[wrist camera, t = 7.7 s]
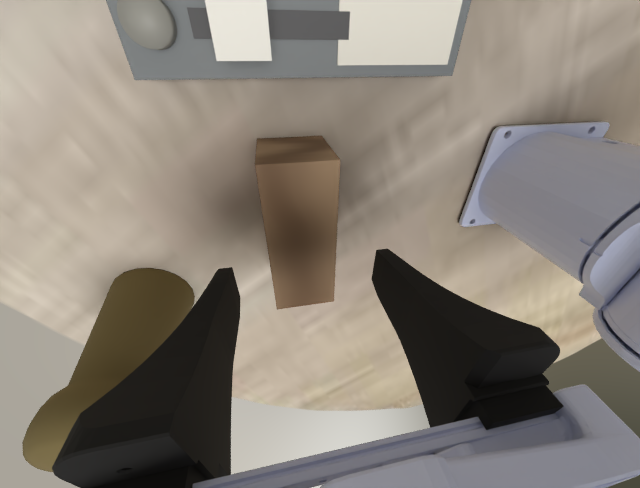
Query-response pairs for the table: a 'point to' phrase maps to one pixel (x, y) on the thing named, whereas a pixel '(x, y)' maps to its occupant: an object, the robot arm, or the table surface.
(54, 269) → the table surface
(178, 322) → the cork
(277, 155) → the block
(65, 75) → the table surface
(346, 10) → the breaker panel
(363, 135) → the table surface
